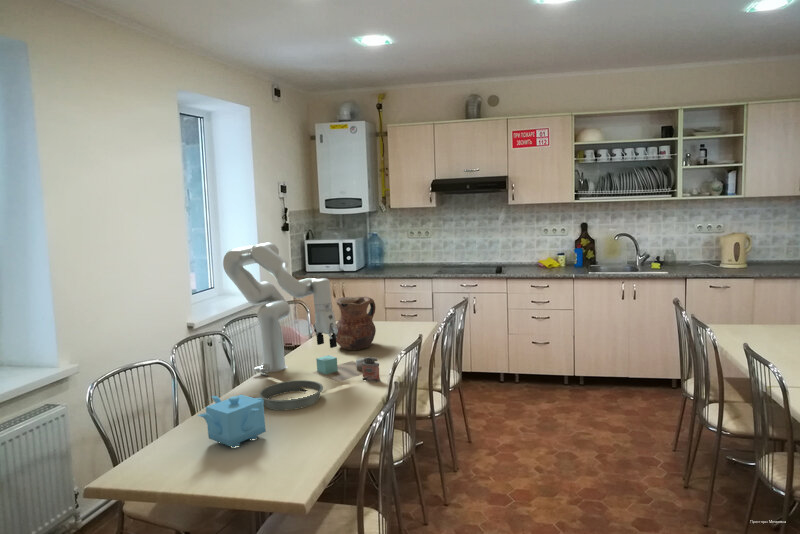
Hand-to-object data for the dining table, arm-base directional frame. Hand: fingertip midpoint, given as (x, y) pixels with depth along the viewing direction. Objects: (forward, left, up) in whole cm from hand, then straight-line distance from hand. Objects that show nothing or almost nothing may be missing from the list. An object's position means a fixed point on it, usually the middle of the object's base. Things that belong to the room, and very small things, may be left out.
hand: (327, 345), depth 267 cm
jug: (+37, +29, -13) cm, 48 cm away
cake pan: (-28, -15, -14) cm, 35 cm away
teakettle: (-62, -35, -13) cm, 73 cm away
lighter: (+7, -21, -13) cm, 26 cm away
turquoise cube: (0, +1, -12) cm, 12 cm away
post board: (+6, -5, -13) cm, 15 cm away
